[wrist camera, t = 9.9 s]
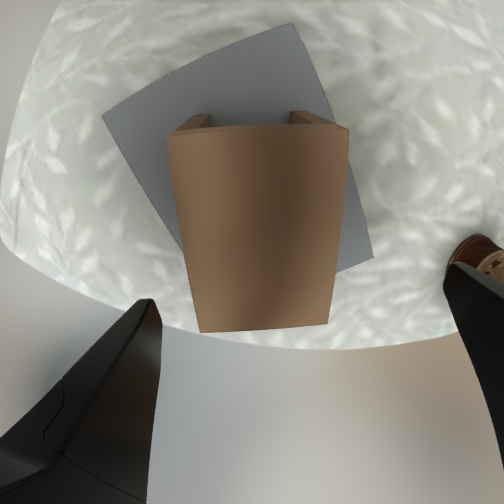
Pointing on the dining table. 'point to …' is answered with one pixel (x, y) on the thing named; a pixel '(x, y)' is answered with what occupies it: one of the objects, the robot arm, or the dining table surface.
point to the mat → (229, 117)
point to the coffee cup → (482, 256)
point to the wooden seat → (260, 219)
